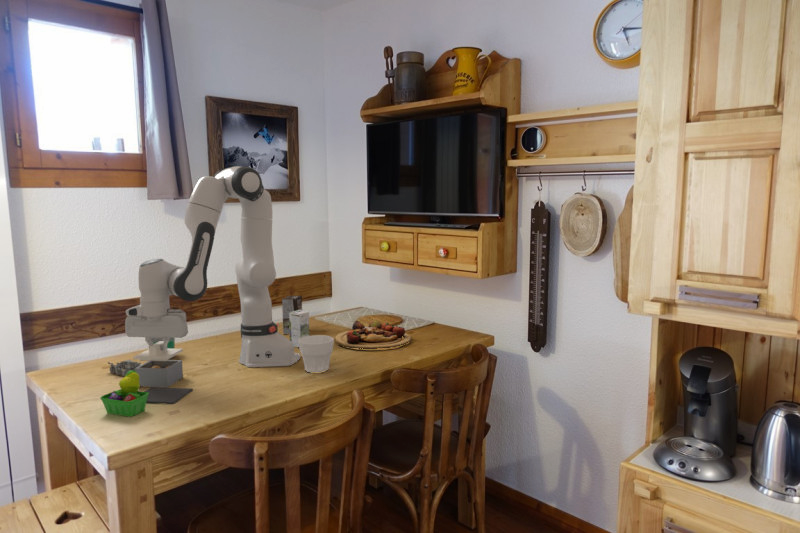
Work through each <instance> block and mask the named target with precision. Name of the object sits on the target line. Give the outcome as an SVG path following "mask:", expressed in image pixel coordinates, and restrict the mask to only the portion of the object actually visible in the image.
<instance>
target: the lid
mask: <svg viewBox="0 0 800 533" xmlns="http://www.w3.org/2000/svg"><path fill="white" fill-rule="evenodd" d="M163 343H164V341H159V342H157V343H155V344H153V345H151V346H149V345H148V349H147V350H144V351H142V352H141V353H139V354H136V355H135V356H134V355H133V360H139V361H141V362H143V361H144V362H145V361H146V362H148V361H166V360H171V359H173V358H174V357H175V356H177V355H178V354H180V353H182V352H183V351H184V350H183V349H184V348H174V349H170V348H167V350H165V351H161V350H160V345H162V344H163ZM172 357H173V358H172ZM170 358H171V359H170Z"/></svg>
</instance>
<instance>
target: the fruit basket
mask: <svg viewBox="0 0 800 533" xmlns="http://www.w3.org/2000/svg"><path fill="white" fill-rule="evenodd" d="M136 372H137V371H129V372H128V373H127V374H126V375H125V376H123V378H121V379H120V380H119V382H118V385H119V388H120V389H117V390H113V391H112V392H109V393H106V394H104V395H101V396H100V397H99V398H100V400H101V402H102V404H103V406H104V409H105V411H106V413H107V414H109V413H113V414H112V415H115V414H117V415H116V416H121V415H123V416H124V417H128V416H129V417H131V416H132V417H134V416H136V415H138V414H141V413H142V412H144V411H145V410H146V405H147V403H146V401H147V397H148V394H149V393H147V392H144V391H141V390H140V391H139V389H140V387H141V386H140V382H139V375H138V374H137V373H136ZM129 417H128V418H129ZM132 417H131V418H132Z"/></svg>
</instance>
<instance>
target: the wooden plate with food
mask: <svg viewBox="0 0 800 533" xmlns="http://www.w3.org/2000/svg"><path fill="white" fill-rule="evenodd" d="M402 336H403V337H404V339H403V340H402ZM401 340H402V341H401ZM410 341H411V342H412V338H411V336H410V335H409V334H407V333H406V329H405V328H404V326H397V325H396V324H395V325H394V324H389V322H384V323H383V324H382V322H381V321H379V320H378V319H374V320H372V321H371V322H370V323H369V324H368V327H366V326H365V324H364V322H363V321H362V320H360V319H356V320H355V321H354V322H353V324H352V327H351V330H347V331H343V332H341V333H338V334H336V336H335V337H334V342H335V344H336V343H337V344H339V345H341V346H344V347H349V348H359V349H360V348H361V349H362V348H363V349H377V348H390V347H396V346H400V345H404V344H406V343H408V342H410ZM411 342H410V343H411ZM337 344H336V345H337ZM339 345H338V346H339ZM341 346H340V347H341ZM344 347H343V348H344Z"/></svg>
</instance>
